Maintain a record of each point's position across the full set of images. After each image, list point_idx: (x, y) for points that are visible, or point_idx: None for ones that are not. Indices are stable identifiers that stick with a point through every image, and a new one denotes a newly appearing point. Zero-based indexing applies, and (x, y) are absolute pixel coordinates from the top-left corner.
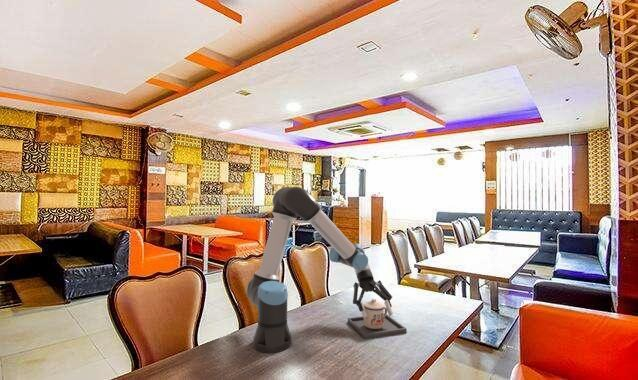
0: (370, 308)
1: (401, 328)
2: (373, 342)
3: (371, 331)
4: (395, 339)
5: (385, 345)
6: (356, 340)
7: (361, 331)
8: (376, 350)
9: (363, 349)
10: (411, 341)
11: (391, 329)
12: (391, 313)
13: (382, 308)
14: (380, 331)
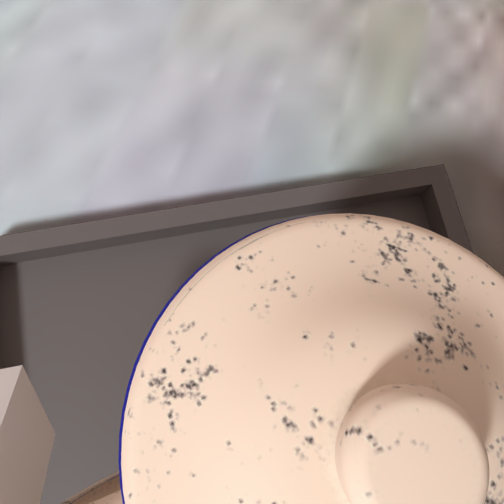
0: (469, 253)
1: (10, 254)
2: (360, 118)
3: None
4: (153, 142)
5: (276, 62)
6: (495, 167)
7: (464, 232)
8: (365, 8)
9: (457, 32)
10: (28, 93)
11: (112, 315)
12: (22, 365)
13: (207, 266)
14: (270, 209)
